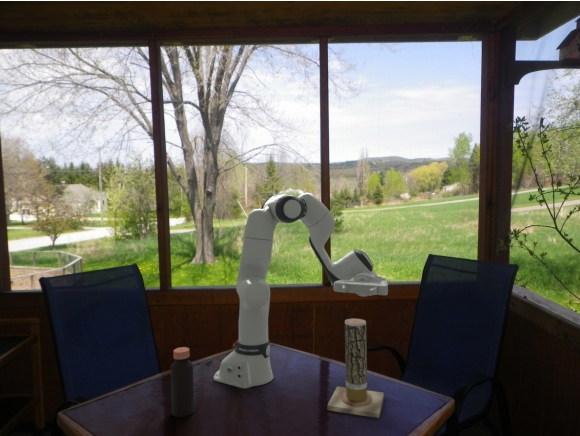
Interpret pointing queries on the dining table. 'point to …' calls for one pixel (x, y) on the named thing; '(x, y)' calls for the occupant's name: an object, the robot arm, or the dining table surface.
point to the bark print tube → (356, 359)
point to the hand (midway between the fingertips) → (357, 291)
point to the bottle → (182, 383)
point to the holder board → (356, 403)
